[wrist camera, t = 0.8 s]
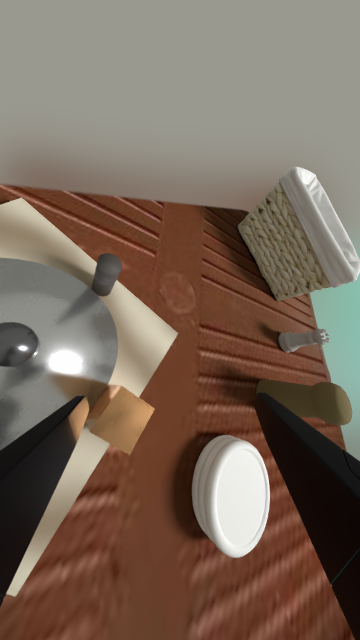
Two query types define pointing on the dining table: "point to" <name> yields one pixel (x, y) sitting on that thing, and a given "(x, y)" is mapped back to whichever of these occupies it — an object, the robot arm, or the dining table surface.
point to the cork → (311, 400)
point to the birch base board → (132, 359)
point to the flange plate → (60, 355)
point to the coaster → (231, 494)
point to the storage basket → (299, 238)
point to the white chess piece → (301, 339)
